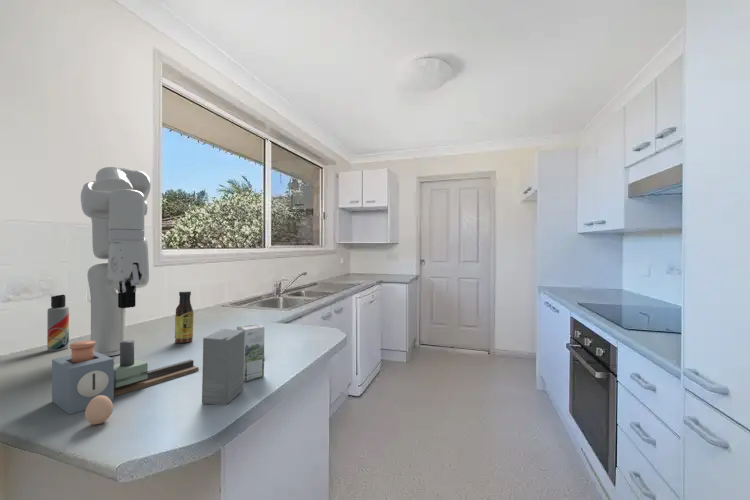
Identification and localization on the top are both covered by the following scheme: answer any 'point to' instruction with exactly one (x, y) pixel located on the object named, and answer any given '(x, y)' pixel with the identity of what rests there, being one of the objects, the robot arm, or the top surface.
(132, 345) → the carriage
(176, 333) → the sauce bottle
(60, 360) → the cabinet
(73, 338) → the top surface
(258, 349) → the syrup box
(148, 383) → the slide rail
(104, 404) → the egg
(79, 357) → the button
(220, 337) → the skincare box
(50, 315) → the lotion bottle
